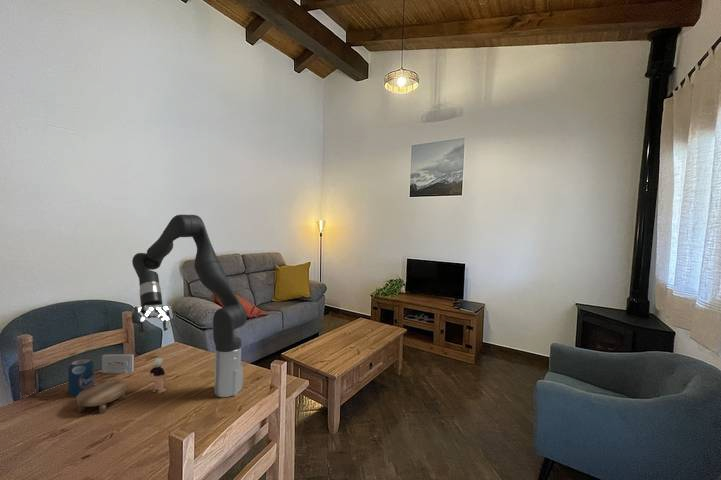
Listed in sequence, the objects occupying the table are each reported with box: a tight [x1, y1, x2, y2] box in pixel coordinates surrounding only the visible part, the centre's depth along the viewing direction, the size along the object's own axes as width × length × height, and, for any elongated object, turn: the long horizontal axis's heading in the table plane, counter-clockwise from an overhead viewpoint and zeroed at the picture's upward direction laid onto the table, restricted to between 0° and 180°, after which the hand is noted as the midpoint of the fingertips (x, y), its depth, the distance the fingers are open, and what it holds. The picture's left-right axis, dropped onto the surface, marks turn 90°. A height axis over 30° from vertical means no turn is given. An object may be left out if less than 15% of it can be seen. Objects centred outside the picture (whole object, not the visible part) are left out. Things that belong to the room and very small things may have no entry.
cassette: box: [101, 354, 135, 375], centre depth 129 cm, size 12×2×8 cm, turn 96°
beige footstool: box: [76, 380, 127, 415], centre depth 106 cm, size 13×13×5 cm
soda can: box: [67, 357, 95, 398], centre depth 113 cm, size 7×7×12 cm
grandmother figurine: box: [148, 357, 167, 394], centre depth 116 cm, size 8×4×13 cm, turn 84°
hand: (154, 331), depth 124 cm, fingers open, 8 cm apart
